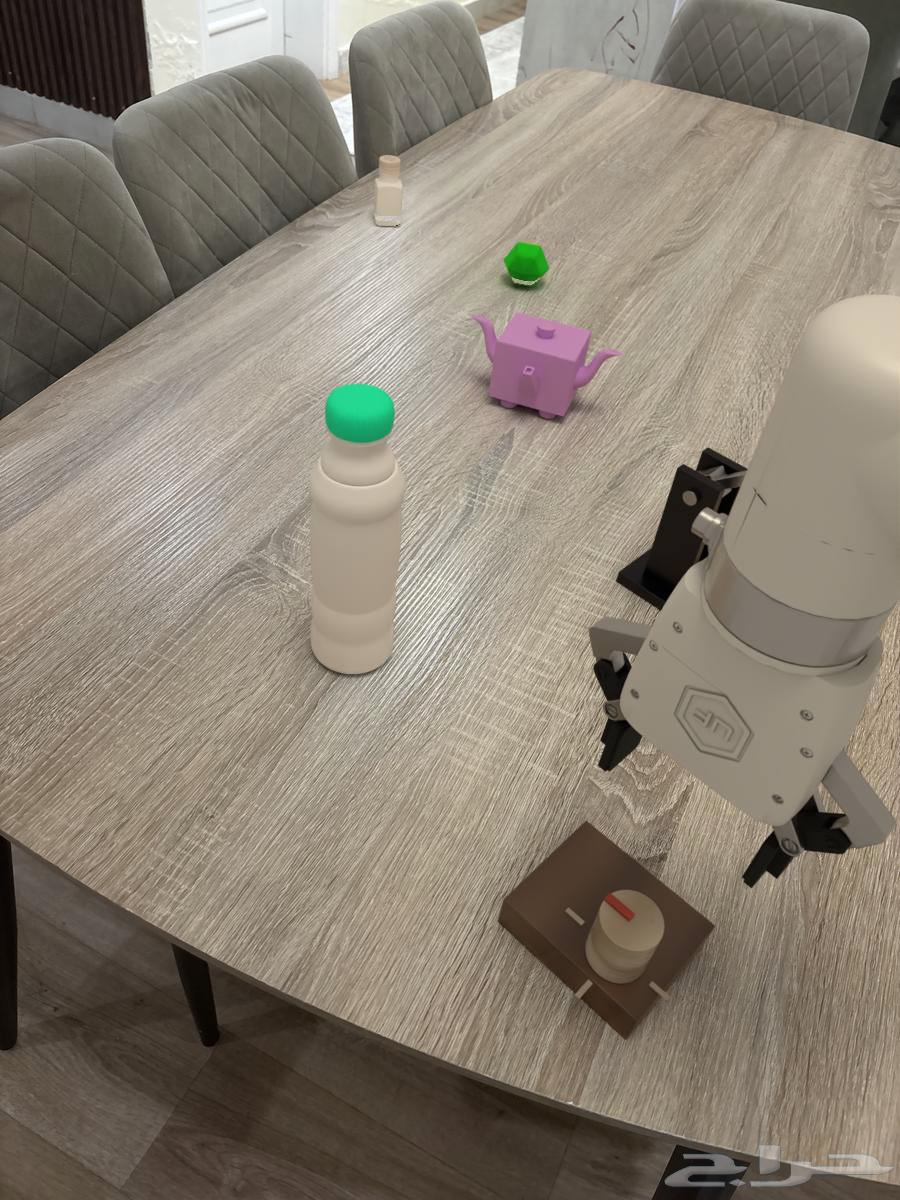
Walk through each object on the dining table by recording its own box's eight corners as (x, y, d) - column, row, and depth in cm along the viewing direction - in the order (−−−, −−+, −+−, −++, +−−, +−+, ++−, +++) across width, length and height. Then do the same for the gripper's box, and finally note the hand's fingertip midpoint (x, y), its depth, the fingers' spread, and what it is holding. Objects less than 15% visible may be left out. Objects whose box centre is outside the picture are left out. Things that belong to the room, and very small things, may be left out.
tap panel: (710, 952, 64) (724, 930, 62) (618, 1066, 58) (630, 1046, 56) (578, 842, 69) (586, 818, 67) (481, 936, 63) (487, 913, 61)
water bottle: (378, 611, 84) (392, 364, 67) (404, 668, 80) (426, 418, 63) (301, 627, 82) (296, 375, 65) (323, 686, 78) (324, 432, 60)
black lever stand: (729, 587, 92) (776, 473, 82) (684, 625, 87) (728, 509, 78) (662, 546, 95) (700, 431, 86) (615, 580, 91) (650, 464, 81)
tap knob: (659, 954, 60) (678, 918, 57) (622, 997, 58) (640, 962, 55) (609, 912, 62) (626, 874, 59) (572, 952, 60) (587, 915, 57)
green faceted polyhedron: (529, 242, 128) (537, 217, 134) (491, 265, 131) (501, 239, 138) (556, 285, 131) (563, 258, 138) (519, 307, 135) (527, 280, 141)
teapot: (442, 408, 110) (451, 332, 103) (478, 358, 119) (488, 284, 112) (591, 450, 106) (609, 374, 100) (616, 395, 116) (634, 322, 109)
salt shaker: (401, 228, 145) (404, 164, 139) (375, 227, 145) (377, 163, 138) (398, 217, 148) (402, 154, 142) (373, 216, 147) (375, 153, 141)
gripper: (587, 522, 42) (526, 750, 54) (951, 759, 34) (787, 966, 46) (680, 462, 47) (605, 686, 58) (1024, 661, 39) (856, 874, 51)
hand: (685, 810), depth 52 cm, fingers open, 9 cm apart
